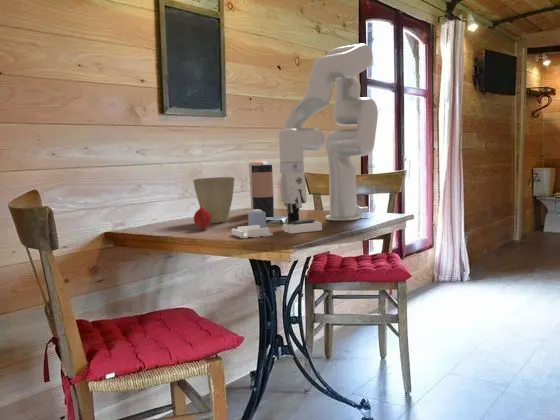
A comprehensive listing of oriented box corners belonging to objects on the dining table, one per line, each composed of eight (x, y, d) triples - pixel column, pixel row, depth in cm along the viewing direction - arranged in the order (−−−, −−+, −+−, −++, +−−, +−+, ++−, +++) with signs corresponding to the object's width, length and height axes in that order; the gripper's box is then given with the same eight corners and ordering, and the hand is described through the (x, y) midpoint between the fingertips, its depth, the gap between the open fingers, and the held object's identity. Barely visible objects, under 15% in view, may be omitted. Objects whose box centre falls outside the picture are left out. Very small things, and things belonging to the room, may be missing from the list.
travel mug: (271, 221, 206) (269, 165, 204) (251, 221, 208) (248, 165, 206) (276, 218, 214) (274, 164, 212) (256, 218, 215) (254, 165, 213)
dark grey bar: (308, 228, 187) (308, 219, 187) (315, 229, 185) (314, 219, 185) (287, 231, 182) (286, 221, 181) (293, 232, 179) (293, 222, 179)
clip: (315, 228, 184) (315, 221, 184) (322, 230, 180) (321, 222, 180) (284, 231, 179) (284, 224, 179) (290, 233, 176) (289, 225, 175)
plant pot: (232, 218, 220) (230, 176, 218) (240, 222, 205) (238, 177, 204) (192, 221, 216) (190, 178, 214) (198, 225, 201) (195, 179, 200)
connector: (260, 229, 188) (259, 208, 187) (266, 230, 184) (265, 210, 183) (248, 230, 186) (247, 209, 186) (254, 232, 182) (253, 211, 181)
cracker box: (255, 212, 239) (253, 161, 237) (270, 211, 238) (268, 160, 236) (250, 216, 225) (248, 162, 223) (265, 215, 224) (263, 161, 222)
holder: (262, 232, 180) (261, 224, 180) (272, 235, 173) (272, 227, 173) (231, 235, 176) (231, 227, 176) (241, 238, 169) (241, 230, 169)
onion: (192, 229, 193) (191, 205, 192) (209, 227, 195) (207, 204, 194) (197, 231, 187) (195, 206, 186) (214, 229, 189) (212, 205, 189)
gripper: (313, 167, 178) (314, 226, 180) (292, 167, 192) (294, 222, 194) (291, 168, 175) (292, 228, 177) (271, 168, 189) (273, 223, 191)
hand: (293, 225), depth 186 cm, fingers closed
